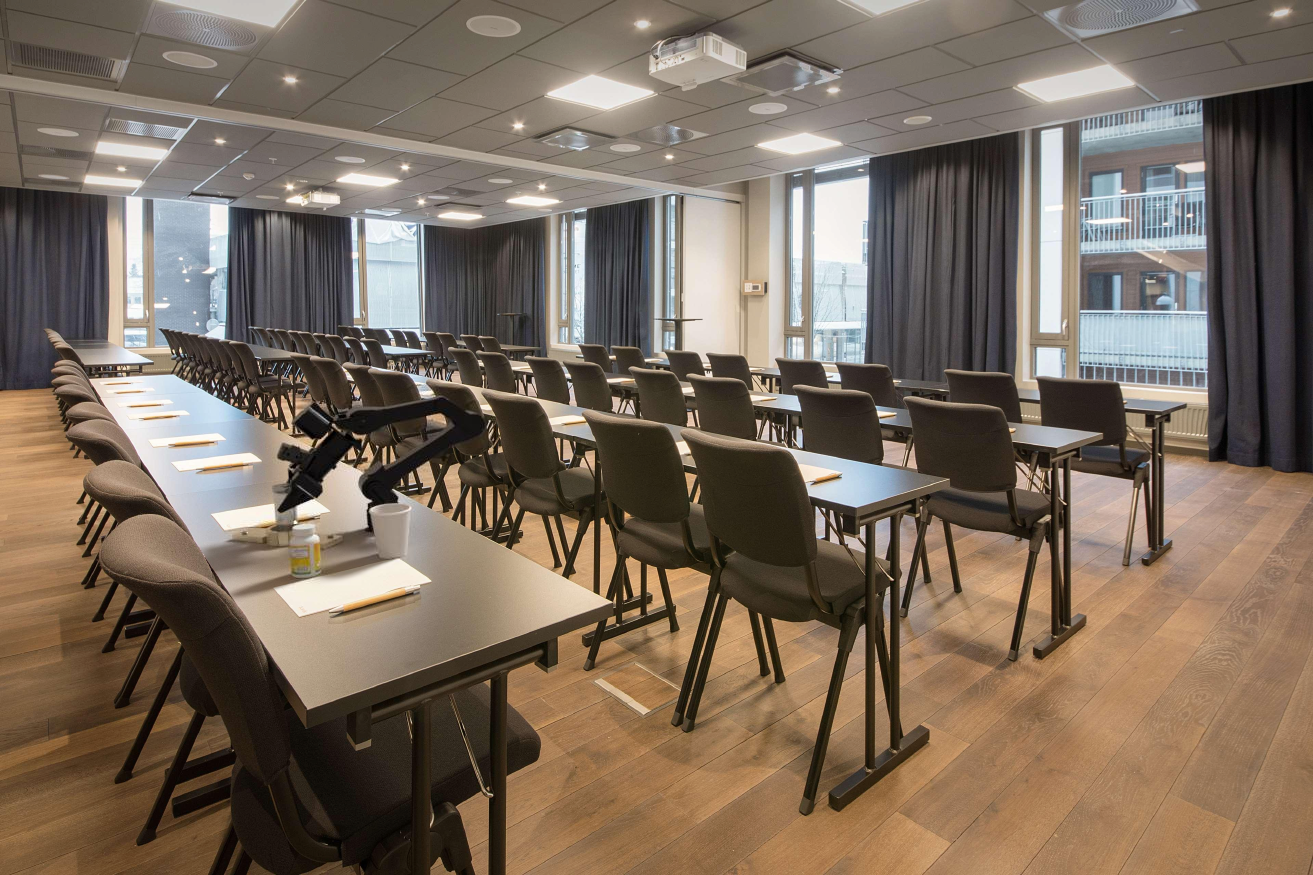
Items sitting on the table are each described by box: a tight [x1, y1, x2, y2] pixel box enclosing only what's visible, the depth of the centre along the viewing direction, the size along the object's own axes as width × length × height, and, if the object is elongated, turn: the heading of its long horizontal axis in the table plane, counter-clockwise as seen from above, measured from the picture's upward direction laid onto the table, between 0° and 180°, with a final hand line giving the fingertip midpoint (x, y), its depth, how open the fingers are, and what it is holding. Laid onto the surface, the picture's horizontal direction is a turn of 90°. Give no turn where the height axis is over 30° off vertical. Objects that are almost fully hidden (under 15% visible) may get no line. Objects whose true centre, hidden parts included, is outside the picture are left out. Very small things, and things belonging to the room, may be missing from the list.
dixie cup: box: [369, 503, 412, 560], centre depth 161 cm, size 8×8×10 cm
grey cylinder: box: [271, 482, 299, 532], centre depth 170 cm, size 5×5×12 cm
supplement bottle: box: [289, 523, 322, 579], centre depth 149 cm, size 5×5×10 cm
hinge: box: [232, 521, 344, 550], centre depth 171 cm, size 24×8×3 cm, turn 75°
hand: (278, 506), depth 169 cm, fingers open, 9 cm apart
